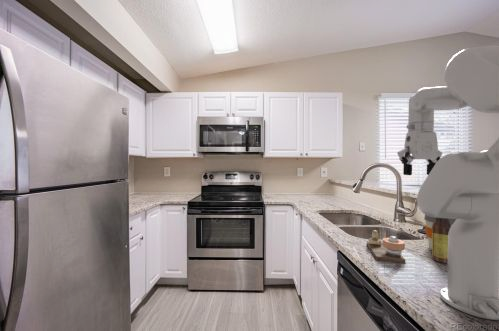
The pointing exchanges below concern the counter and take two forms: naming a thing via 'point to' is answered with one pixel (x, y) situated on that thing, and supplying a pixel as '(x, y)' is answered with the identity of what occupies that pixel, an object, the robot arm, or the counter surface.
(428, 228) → the reusable coffee cup
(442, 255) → the sauce bottle
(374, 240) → the hub post
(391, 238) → the storage rod
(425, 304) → the counter surface
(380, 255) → the board
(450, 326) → the counter surface
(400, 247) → the ring
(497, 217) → the robot arm
